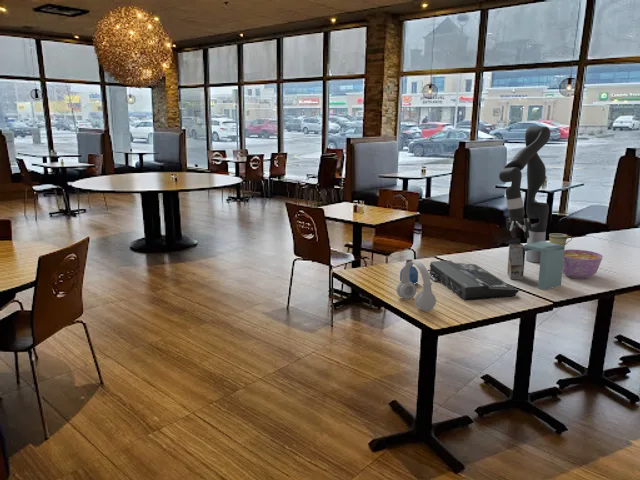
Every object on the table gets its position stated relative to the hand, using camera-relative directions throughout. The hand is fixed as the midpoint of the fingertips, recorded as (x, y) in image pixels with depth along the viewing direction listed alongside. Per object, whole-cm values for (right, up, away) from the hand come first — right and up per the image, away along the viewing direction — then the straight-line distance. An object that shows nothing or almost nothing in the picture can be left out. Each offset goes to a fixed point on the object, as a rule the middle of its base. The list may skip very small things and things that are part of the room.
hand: (520, 238), depth 245 cm
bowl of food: (+29, -20, -1) cm, 35 cm away
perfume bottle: (-58, -23, -6) cm, 62 cm away
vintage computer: (-29, -23, -10) cm, 39 cm away
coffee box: (-2, -20, +1) cm, 20 cm away
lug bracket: (+5, -22, -12) cm, 26 cm away
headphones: (-60, -29, -34) cm, 75 cm away
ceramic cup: (+44, -8, +48) cm, 65 cm away
